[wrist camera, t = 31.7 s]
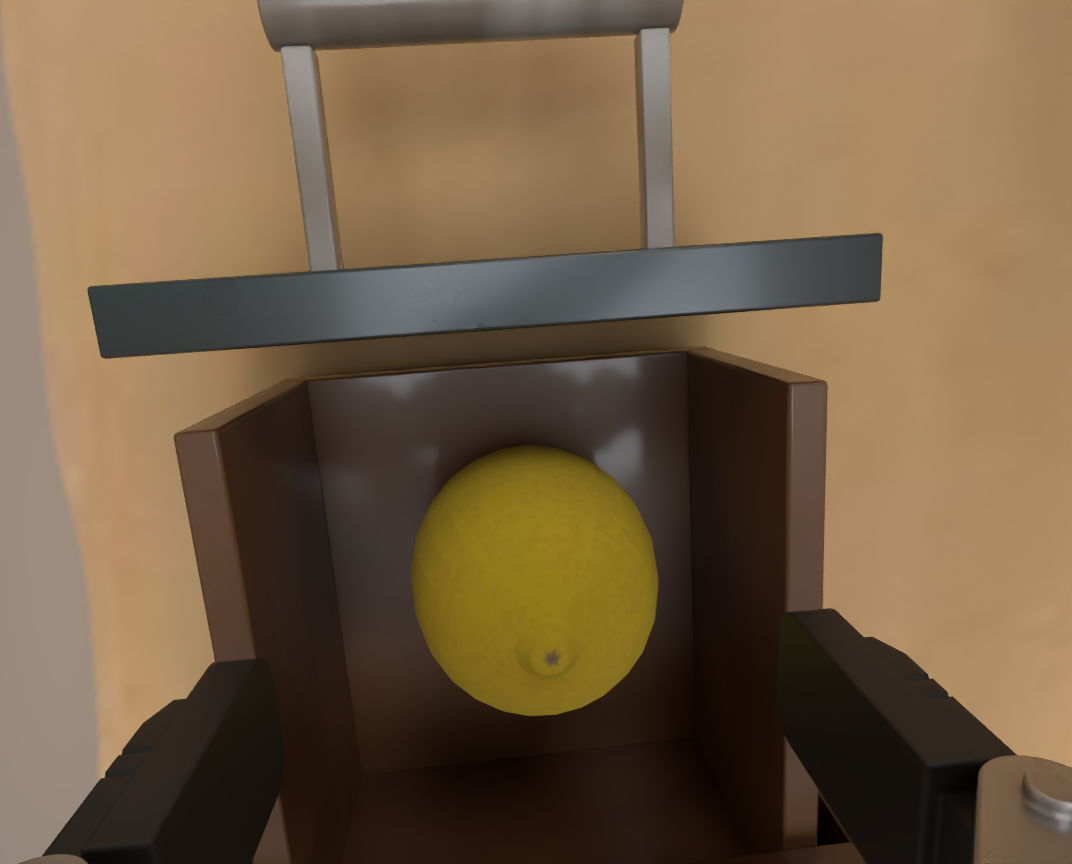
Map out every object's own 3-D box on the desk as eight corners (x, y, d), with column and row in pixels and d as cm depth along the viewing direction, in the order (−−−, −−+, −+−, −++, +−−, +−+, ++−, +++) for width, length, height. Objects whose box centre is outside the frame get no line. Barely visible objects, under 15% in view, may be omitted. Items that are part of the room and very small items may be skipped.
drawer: (210, 59, 18) (4, -111, 10) (726, 34, 19) (898, -141, 11) (321, 776, 22) (237, 1035, 15) (731, 730, 23) (856, 952, 16)
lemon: (590, 617, 21) (656, 818, 13) (407, 580, 20) (360, 770, 12) (640, 441, 20) (746, 545, 12) (448, 397, 19) (427, 475, 11)
